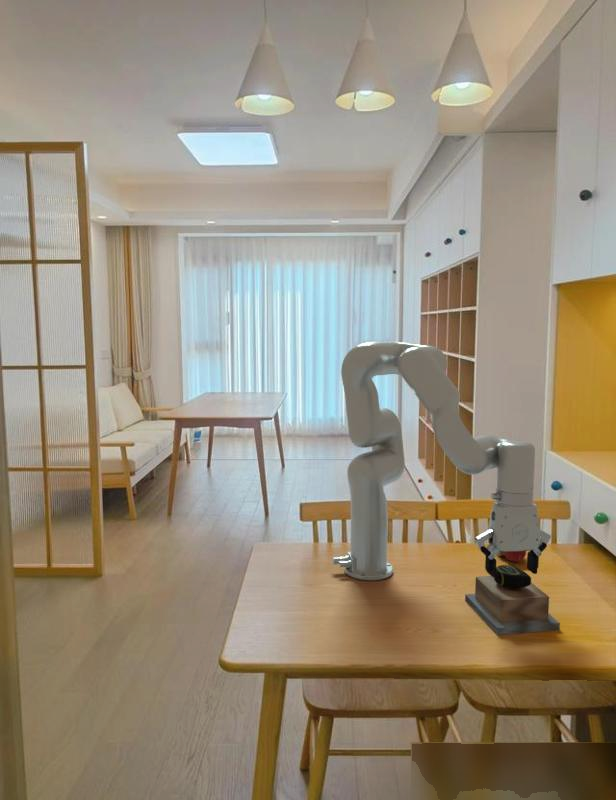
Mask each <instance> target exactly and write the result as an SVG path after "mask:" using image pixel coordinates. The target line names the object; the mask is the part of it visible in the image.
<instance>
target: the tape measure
mask: <svg viewBox="0 0 616 800" xmlns="http://www.w3.org/2000/svg"><path fill="white" fill-rule="evenodd" d="M494 580H495V582H496V583H497V584H499V585H500V586H502V587H505V588H510V589H519V588H522V587H527V586H529V585H530V584H531V583H532V577H531V576H530V575H529V574H528V573H526V572H525V571H523V570H522V569H521V568H519V567H518V566H516V565H515V564H509V565H508V564H499V565H498V566H497V565H496V576H495V577H494Z"/></svg>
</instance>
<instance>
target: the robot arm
mask: <svg viewBox="0 0 616 800" xmlns="http://www.w3.org/2000/svg"><path fill="white" fill-rule="evenodd" d="M447 367H448V359H447V357H446V355H445V354H444V352H443V351H442V350H441V349H439V348H438V347H436V346H432V345H422V344H414V343H407V342H402V341H401V342H400V341H399V342H398V341H368V342H363V343H360V344H357V345H355V346H354V347H352V348H351V349H350V350H349V351H348V352H347V353H346V355H345V356H344V358H343V360H342V364H341V370H340V371H341V372H340V373H341V381H342V386H343V390H344V398H345V408H346V409H345V411H346V419H347V428H348V436H349V438H350V439H349V440H350V442H351V443H352V444H353V445H354V446H355V447H358V448H362V449H365V448H370V447H371V451H367V452H363V453H361V454H359V455H357V456H355V457H353V458H352V460H351V461H350V463H349V465H348V466H347V474H346V475H347V481H348V482H347V483H348V486H349V487H348V488H349V494H350V551H347V554H346V555H343V556H333V557H332V565H333V566H334V565H335V566H336V565H338V566H339V568H344V572H345V574H346V575H348V576H349V577H351V578H354V579H357V580H361V581H379V580H380V581H381V580H384V579H387V578H389V577H390V576H391V575H392V574H393V572H394V569H393V565H392V564H390V563H389V562H388V509H389V508H388V501H387V497H386V494H385V491H384V486H387V485H389V484H392V483H394V482H396V481H398V480H399V479H400V478H401V477H402V476H403V474H404V471H405V463H406V462H405V452H404V450H405V449H404V444H403V443H404V442H403V441H404V440H403V433H402V426H401V422H400V420H399V418H398V415H397V414H396V413H395V412H394V411H392V410H391V409H390V408H387V407H380V401H379V400H380V399H379V392H378V388H377V386H376V385H375V383H374V381H373V378H374V377H376V376H384V375H385V376H386V375H388V376H389V375H398V376H401V377H402V379H403V380H404V381H405V383H406V385H408V387H409V388H410V389H411V391H412V392H413V393H414V395H415V396H416V397H417V399H418V400H419V401H420V403H421V405H423V407H424V409H425V410H426V411H427V412H428V414H429V417H430V423H431V427H432V430H433V434H434V437H435V438H436V441H437V443H438V444H439V447H440V448H441V449H442V451H443V452H444V454H445V455H446V456H447V458H448V459H449V460H450V461H451V463H452V464H453V465H454V466H455V467H456V468H457V469H458V470H459V471H460V472H462V473H463V474H466V475H470V476H471V475H472V476H473V475H475V476H476V475H479V474H482V473H483V472H485V471H488V470H492V469H497V470H496V471H497V473H496V477H497V478H496V488H495V492H494V493H493V492H492V493H491V495H490V498H491V500H495V501H494V502H493V504H492V507H491V512H490V517H489V523H488V529H487V530H486V531H484V532H483V533H481V534H479V535H477V536H476V537H474V542H475V543H476V545H477V547H478V550H479V551H480V552H481V553H482V554H483V555H484V556H485V559H484V560H485V564H484V568H485V571H486V573H487V574H488V575H489V576H492V577H495V576H496V567H497V559H495V558H496V556H497V553H498V552H499V551H500V552H515V551H526V555H527V556H526V557H527V558H526V559H527V560H526V569H527V570H528V571H529V572H531V573H532V574H533V575H536V574H538V569H539V561H540V559H539V557H541V556H542V555H543V554H542V553H543V551H545V549H547V546H548V545H547V544H549V541H550V539H551V537H552V535H550V534H549V533H547V532H545V531H543V530H541V529H540V519H539V518H540V517H539V511H538V507H537V506H538V505H537V504H536V503H535V502H534V487H535V486H534V485H535V484H534V483H535V481H534V480H535V462H536V461H535V460H536V449H535V446H534V445H533V444H532V443H531V442H529V441H525V440H517V439H516V440H515V439H510V440H509V439H506V438H502V437H498V436H496V435H490V434H489V435H488V434H485V435H480V436H477V437H474V436H472V434H471V432H470V431H469V430H468V429H467V427H466V426H465V424H464V423H463V421H462V419H461V416H460V413H459V404H460V399H461V393H460V391H459V389H458V388H457V387H456V386H455V384H454V383H453V381H452V380H451V379H450V378H449V376H448V375H447V374H446V371H447V369H448V368H447ZM487 540H488V545H487V546H486V545H485V542H486V541H487Z"/></svg>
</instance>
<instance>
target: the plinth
mask: <svg viewBox="0 0 616 800" xmlns="http://www.w3.org/2000/svg"><path fill="white" fill-rule="evenodd" d="M474 587H475V588H474V589H475V590H474V593H465V595H464V601H465V602H466V604H468V605H469V606H470V607H471V609H473V611H475V612H476V614H477V615H478V616H479V617H480V618H481V619H482V620H483V621H484V622H485V623H486V625H487V626H488V627H489V628H490V629H491V630H492V631H493V632H494V633H495V635H497V636H500V635H501V636H502V635H503V636H504V635H513V634H524V633H525V634H526V633H536V632H546V631H559V630H560V629H561V627H560V625H561V622H559V620H557V619H556V618H555V617H554V616H553V615H551V614H550V613H549V610H550V609H549V608H550V607H549V606H550V596H549V595H548V594H546V593H545V591H543V590H541V589H540V588H539V587H538V586H537V585H535V584H534V583H532V582H531V584H530V585H529V586H527V587H522V588H519V589H510V588H505V587H502V586H500V585H499V584H497V583H496V582H495V580H494V577H492V576H491V575H486V576H483V575H482V576H476V577H475V586H474Z"/></svg>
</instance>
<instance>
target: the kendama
mask: <svg viewBox="0 0 616 800" xmlns="http://www.w3.org/2000/svg"><path fill="white" fill-rule="evenodd" d="M497 555H498V556H497ZM497 555H496V556H497V557H503V556H504V557H505V558H506V559H507V560H508V561H510V562H513V563H518V562H521V561H523V560H524V559H525V557H526V555H527V551H515V552H500V551H499V552H498V553H497Z"/></svg>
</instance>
